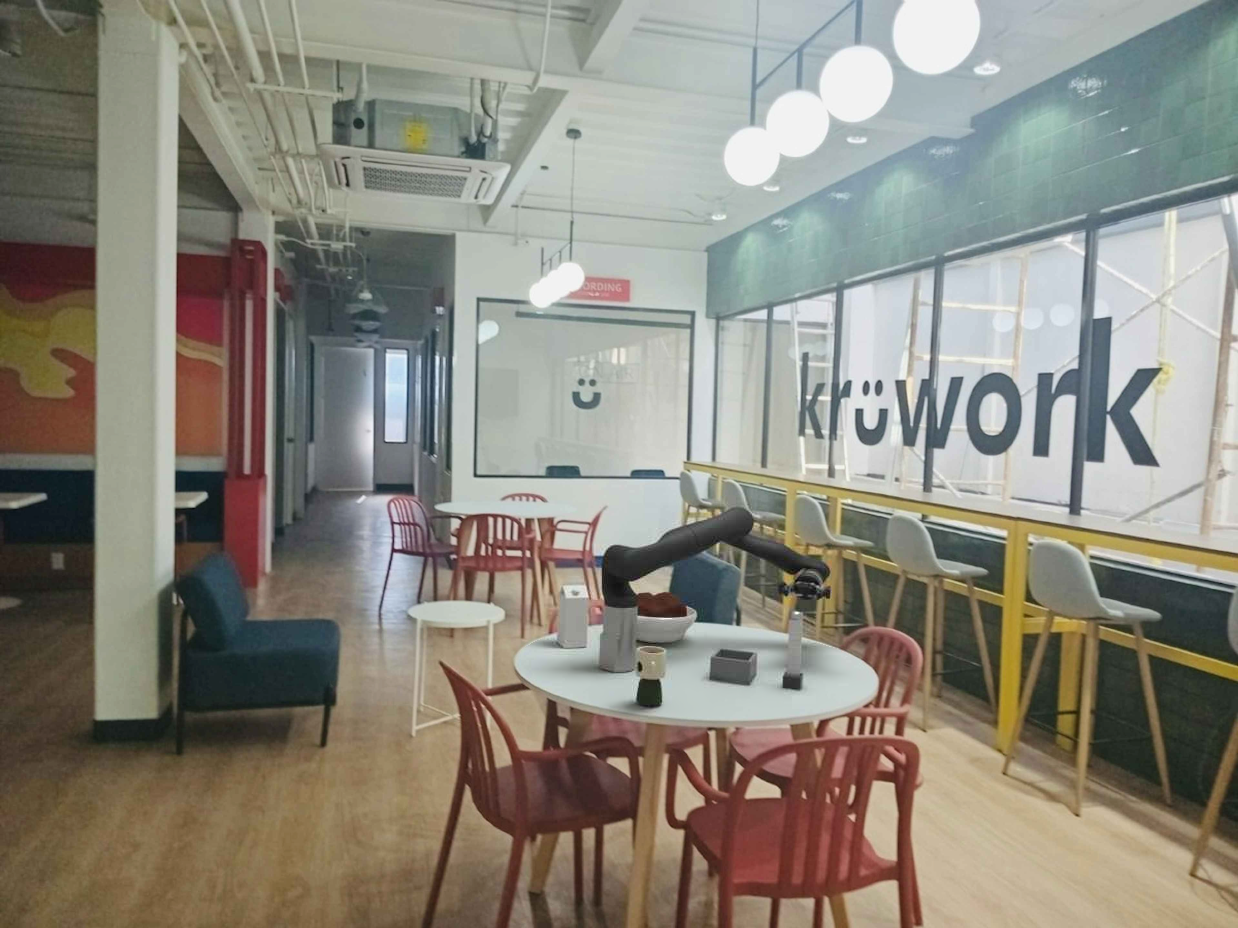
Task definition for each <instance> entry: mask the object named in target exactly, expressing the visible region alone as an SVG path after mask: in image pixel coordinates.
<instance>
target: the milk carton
mask: <svg viewBox="0 0 1238 928" xmlns="http://www.w3.org/2000/svg"><path fill="white" fill-rule="evenodd" d="M589 603H590V596H589V592H588V588H587V583H586V581H562V586H561V588H560V590H559V593H558V613H557V629H556V630H557V635H556V643H558V645H560V646H561V647H562V648H564V649H574V648H575V649H576V648H577V649H578V648H587V645H588V627H589V626H588V625H589V622H588V621H589V605H590V604H589Z"/></svg>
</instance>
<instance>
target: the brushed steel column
mask: <svg viewBox="0 0 1238 928" xmlns="http://www.w3.org/2000/svg"><path fill="white" fill-rule="evenodd" d="M803 620H804V612H803V611H795V610H789V620H788V637H787V638H788V640H787V641H788V642H787V656H786V657H787V658H786V670H785V671H784V674H783V675H782V682H781V683H782V684H781V685H782V686H781V687H782V688H783V689H789V688H791V689H790V690H796V689H802V687H803V684H804V673H803V672H801V661H802V660H801V659H802V643H803V642H802V641H803V623H804V621H803Z"/></svg>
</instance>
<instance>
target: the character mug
mask: <svg viewBox="0 0 1238 928" xmlns="http://www.w3.org/2000/svg"><path fill="white" fill-rule="evenodd" d="M666 668H667V650H666V648H663V647H660V646H654V645H653V646H652V645H650V646H649V645H648V646H647V645H644V646H639V647H636V657H635V676H637V677H638V678H640V679H639V681H638V685H637V690H636V696H635V697H636V698H635V700H636V703H637V704H639V705H642V706H643V705H644V706H645V705H646V706H649V707H651V706H652V705H660V704H662V703H663V689H662V682H661V679H664V678H665V676H666Z"/></svg>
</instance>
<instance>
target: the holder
mask: <svg viewBox="0 0 1238 928" xmlns="http://www.w3.org/2000/svg"><path fill="white" fill-rule="evenodd" d="M709 665H710V666H709V680H711V681H718V682H724V683H731V684H739V685H746V686H747V685H749V686H750V685H751V684H752V682H753V680H754V679H755V678H756V676H757V669H758V652H754V651H745V650H737V649H732V648H731V649H729V648H723V647H719V648H718V649H717V650H715V652H713V653H712V655H711V656H710V664H709Z"/></svg>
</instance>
